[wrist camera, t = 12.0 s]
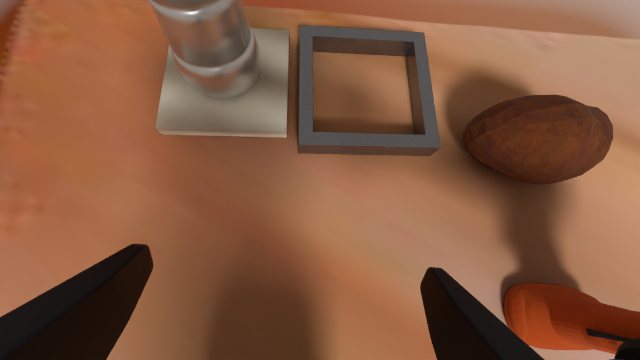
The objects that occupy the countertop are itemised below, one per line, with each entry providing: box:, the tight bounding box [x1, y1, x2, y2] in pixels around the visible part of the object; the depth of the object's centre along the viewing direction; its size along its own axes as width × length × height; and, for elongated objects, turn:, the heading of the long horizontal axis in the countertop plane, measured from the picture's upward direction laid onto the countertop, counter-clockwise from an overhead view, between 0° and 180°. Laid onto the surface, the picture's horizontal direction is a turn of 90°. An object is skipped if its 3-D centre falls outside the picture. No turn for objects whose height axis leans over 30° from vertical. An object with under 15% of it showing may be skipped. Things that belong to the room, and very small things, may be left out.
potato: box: [463, 95, 613, 184], centre depth 22 cm, size 8×12×8 cm, turn 92°
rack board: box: [155, 28, 289, 138], centre depth 25 cm, size 11×11×1 cm
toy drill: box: [504, 283, 640, 360], centre depth 14 cm, size 5×19×15 cm, turn 86°
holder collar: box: [299, 25, 440, 156], centre depth 25 cm, size 12×12×2 cm
